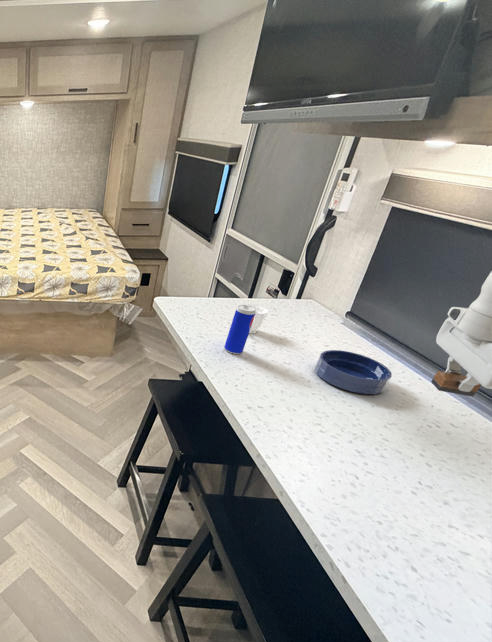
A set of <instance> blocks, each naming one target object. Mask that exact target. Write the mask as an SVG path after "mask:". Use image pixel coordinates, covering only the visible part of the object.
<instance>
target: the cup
mask: <svg viewBox="0 0 492 642" xmlns="http://www.w3.org/2000/svg"><path fill="white" fill-rule="evenodd" d="M248 306H252V307H254V308H255V309H256V314H255V317H254V320H253V323H252V326H251V329H250V332H249V334H256V333H257V331H258V329H260V327H261V326H262V324H263V323H264V320H265V319H266V317H267V315H268V313H269V311H268V310H267V308H265V307H262V306H259V305H252V304H248Z"/></svg>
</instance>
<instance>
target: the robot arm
mask: <svg viewBox="0 0 492 642" xmlns="http://www.w3.org/2000/svg"><path fill="white" fill-rule="evenodd" d="M447 316H448V317H447V318H446V319H445V320H444V321H443V323H442V325H441V327H440V328H439V330H438V333H437V335H436V339H435V342H436V345H437V346H439V347H440V348H441V349H442V350H443V352H445V353H446V354H448V356H449V357H448V358H447V363H446V364H447V366H446V370H445V371H444V372H448V373H453V374H460V375H463V374H462V371H461V370H462V368H463V370H464V371H466V372H467V373H466V374H465V375H466V376H467V378H466V379H465V380H459V381H458V383H457V384H456V387H457V388H458V389H459V390H460V391H465V392H470V391H471V390H472V389H473V387H474V386H476V385H478V384H480V385H481V386H482V387H483V388H485V389H489V390H492V270H491V271H490V272H489V274H488V275H487V277H486V279H485V281H484V282H483V283H482V285H481V288H480V293H479V295H478V297H477V298H476V299H475V300H473V301H472V302H471V304H470V305H469V306H468V307H460V306H452V307H450V308H449V310H448V312H447Z"/></svg>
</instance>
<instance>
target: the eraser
mask: <svg viewBox="0 0 492 642" xmlns="http://www.w3.org/2000/svg"><path fill="white" fill-rule="evenodd" d="M466 375H467V374H461V375H460V374H453V373H448V372H445V371H443V370H442V371H441V370H437V371H436V373H435V374H434V376H433V378H432V380H431V381H430V382H431V384H432V385H433V386H434V387H435V388H436V389H437V391H440V392H445V393H450V394H455V395H462V396H467V397H474V396H475V395H476V393H477V392H478V390H479V389H480V387H481V386H482V385H481V384H478V385H476V386H474V387H473V389H472V390H471V391H470V392H465V391H460V390H459V389H458V388H457V387H456V384H457V383H458V381H459V380H465V379H466V378H467V376H466Z"/></svg>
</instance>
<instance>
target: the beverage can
mask: <svg viewBox="0 0 492 642" xmlns="http://www.w3.org/2000/svg"><path fill="white" fill-rule="evenodd" d="M248 305H249V304H248ZM248 305H247V304H239V305H238V306H236V309H235V312H234V314H233V318H232V321H231V324H230V327H229V330H228V333H227V337H226V340H225V342H224V350H225V351H226V352H227V351H228V352H227V353H229V352H230V353H229V354H232V353H233V354H232V355H240V354H242V353H243V352H244V349H245V347H246V343H247V340H248V338H249V334H250V333H249V332H250V329H251V326H252V323H253V320H254V317H255V314H256V309H255V308H254V307H252V306H248Z"/></svg>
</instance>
